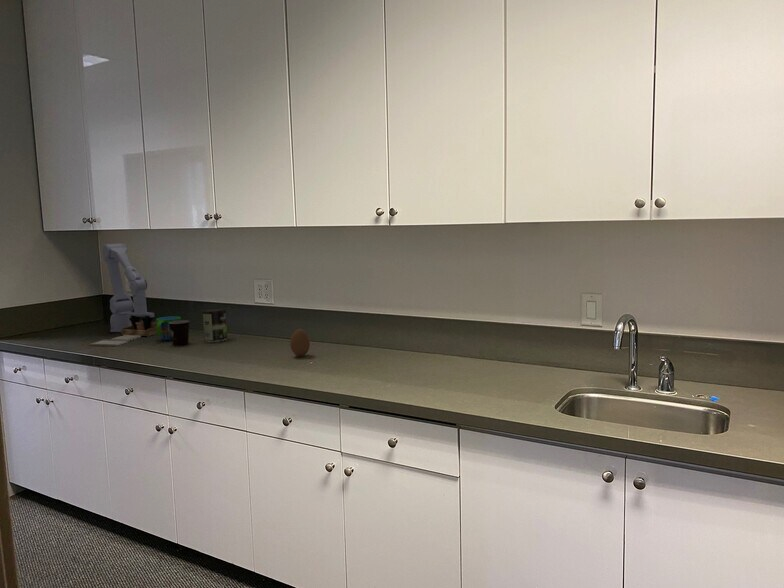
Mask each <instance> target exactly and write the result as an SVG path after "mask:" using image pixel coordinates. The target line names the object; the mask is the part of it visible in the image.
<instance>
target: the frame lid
mask: <svg viewBox="0 0 784 588" xmlns="http://www.w3.org/2000/svg"><path fill="white" fill-rule="evenodd" d="M129 342H130V341H129V340H111V339H101V340H100V341H96V342H93V343H92V342H91V343H88V346H89V347H113V346H116V347H118V345H119V346H121V344H122V345H124V343H125V344H128V343H129Z"/></svg>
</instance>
